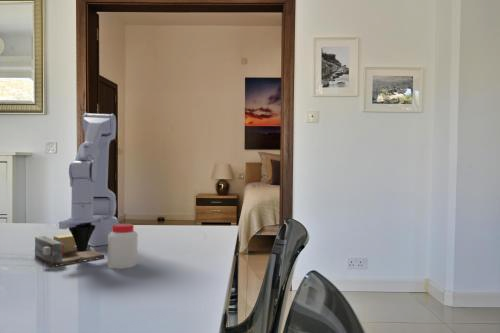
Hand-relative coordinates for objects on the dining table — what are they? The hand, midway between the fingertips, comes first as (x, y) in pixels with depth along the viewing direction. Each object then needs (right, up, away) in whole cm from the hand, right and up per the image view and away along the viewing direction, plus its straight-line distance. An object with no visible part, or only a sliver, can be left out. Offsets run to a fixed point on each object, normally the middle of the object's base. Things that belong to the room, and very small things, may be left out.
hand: (81, 250), depth 112 cm
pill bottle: (+13, -3, -4) cm, 14 cm away
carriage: (-7, -1, +4) cm, 8 cm away
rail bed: (-4, -3, +3) cm, 6 cm away
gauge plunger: (-5, 0, -6) cm, 8 cm away
